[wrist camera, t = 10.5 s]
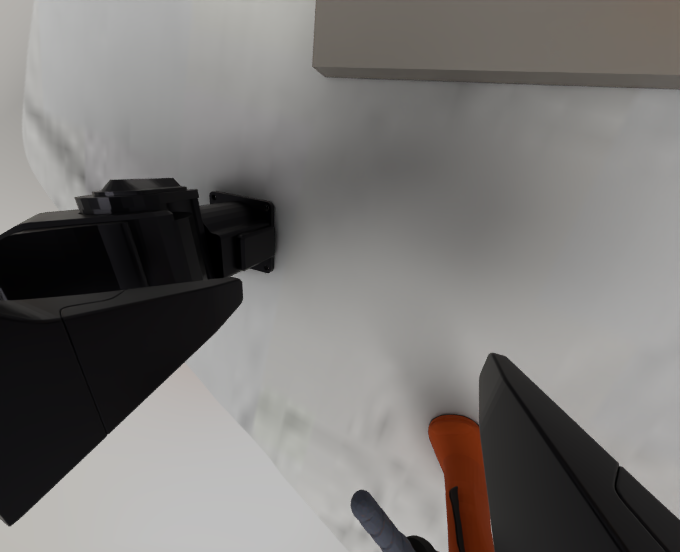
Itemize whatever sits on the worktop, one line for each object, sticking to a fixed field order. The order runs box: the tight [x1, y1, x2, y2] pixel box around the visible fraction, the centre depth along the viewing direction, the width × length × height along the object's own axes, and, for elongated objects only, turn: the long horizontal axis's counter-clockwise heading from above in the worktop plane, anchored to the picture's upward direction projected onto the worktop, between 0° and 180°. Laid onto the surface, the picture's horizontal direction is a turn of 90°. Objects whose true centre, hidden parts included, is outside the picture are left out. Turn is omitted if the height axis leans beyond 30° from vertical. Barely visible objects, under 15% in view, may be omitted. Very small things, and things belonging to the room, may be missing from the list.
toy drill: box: [351, 415, 495, 552], centre depth 17 cm, size 5×19×15 cm, turn 29°
